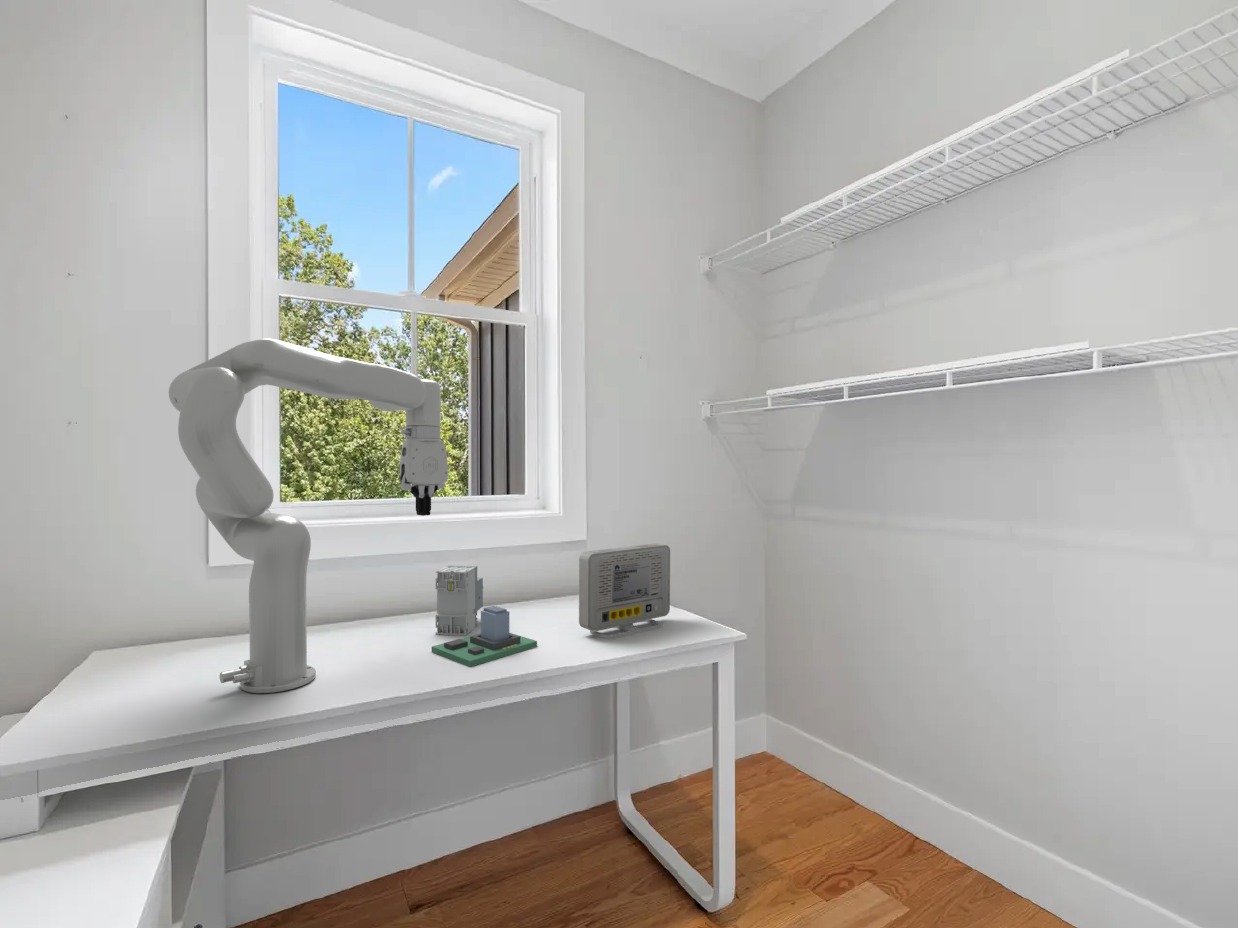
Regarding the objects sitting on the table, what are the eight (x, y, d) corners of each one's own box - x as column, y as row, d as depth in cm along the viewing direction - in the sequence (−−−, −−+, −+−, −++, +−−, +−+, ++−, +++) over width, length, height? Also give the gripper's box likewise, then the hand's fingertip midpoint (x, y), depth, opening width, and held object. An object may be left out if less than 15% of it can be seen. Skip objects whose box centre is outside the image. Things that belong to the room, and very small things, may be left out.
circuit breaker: (484, 619, 164) (484, 561, 164) (466, 635, 150) (466, 572, 150) (456, 618, 165) (456, 561, 165) (435, 634, 151) (435, 571, 150)
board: (470, 666, 128) (470, 654, 128) (431, 651, 138) (431, 640, 137) (537, 646, 142) (537, 634, 142) (497, 633, 151) (497, 623, 151)
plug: (494, 646, 137) (494, 612, 137) (480, 642, 141) (480, 608, 141) (509, 642, 140) (509, 608, 140) (494, 638, 144) (494, 604, 144)
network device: (654, 617, 167) (655, 541, 167) (676, 624, 160) (677, 545, 160) (573, 633, 152) (573, 550, 151) (594, 642, 145) (595, 555, 144)
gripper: (401, 433, 136) (402, 518, 136) (460, 435, 147) (460, 513, 148) (384, 434, 141) (384, 516, 141) (442, 435, 152) (442, 511, 152)
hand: (423, 514), depth 144 cm, fingers closed
